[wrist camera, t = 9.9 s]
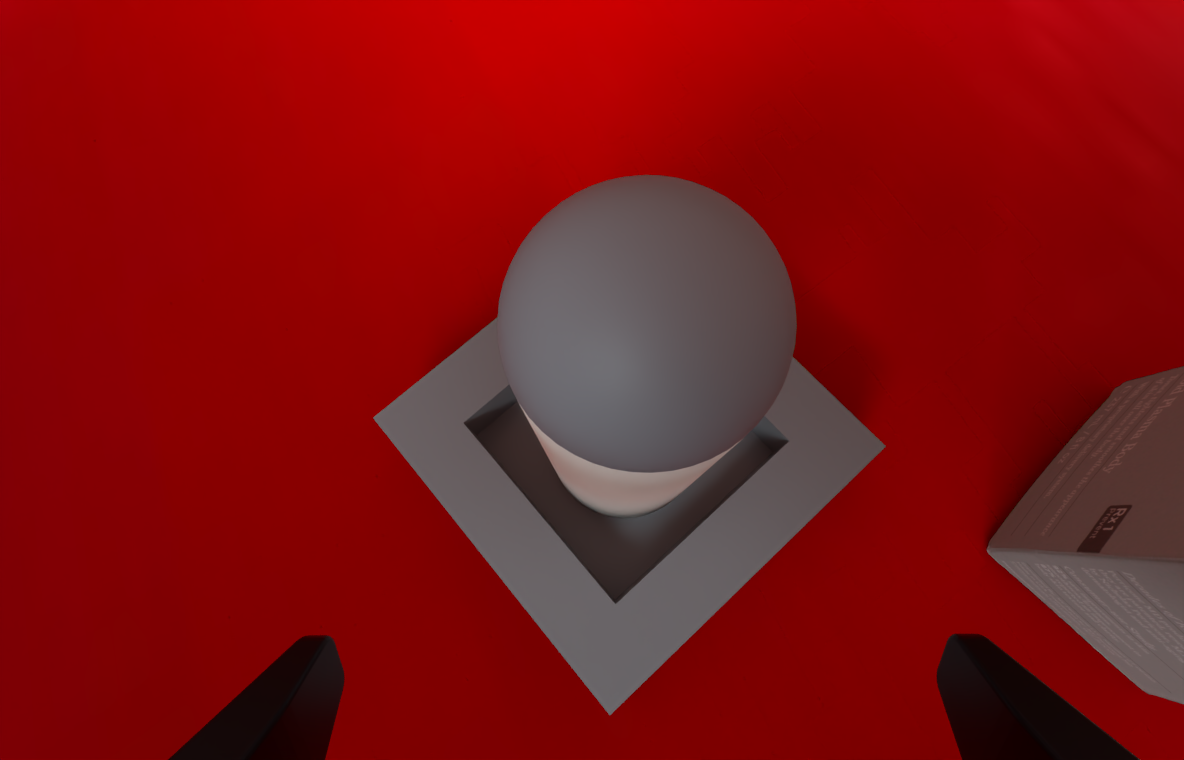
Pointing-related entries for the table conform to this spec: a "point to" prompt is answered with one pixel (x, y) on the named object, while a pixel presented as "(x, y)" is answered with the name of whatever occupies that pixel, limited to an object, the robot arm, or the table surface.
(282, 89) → the table surface
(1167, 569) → the skincare box
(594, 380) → the grey round-top peg
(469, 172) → the table surface
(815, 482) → the jig
